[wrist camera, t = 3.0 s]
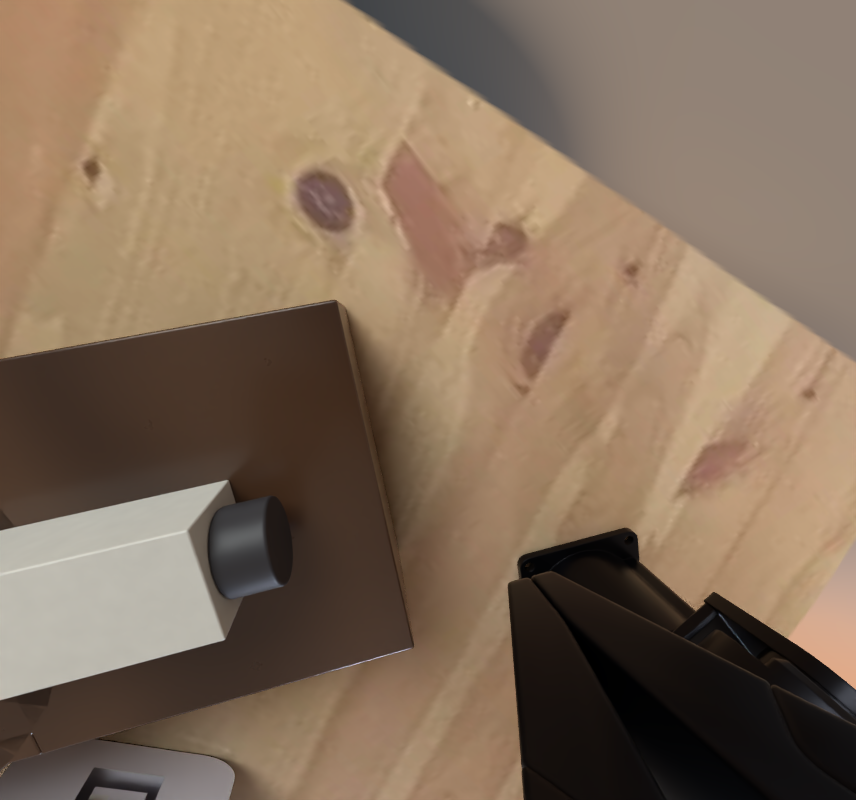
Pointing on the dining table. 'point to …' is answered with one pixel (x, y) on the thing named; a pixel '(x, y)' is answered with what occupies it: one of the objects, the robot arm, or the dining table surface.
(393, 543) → the wooden desk organizer
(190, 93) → the dining table surface
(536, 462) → the dining table surface
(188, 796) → the charger
